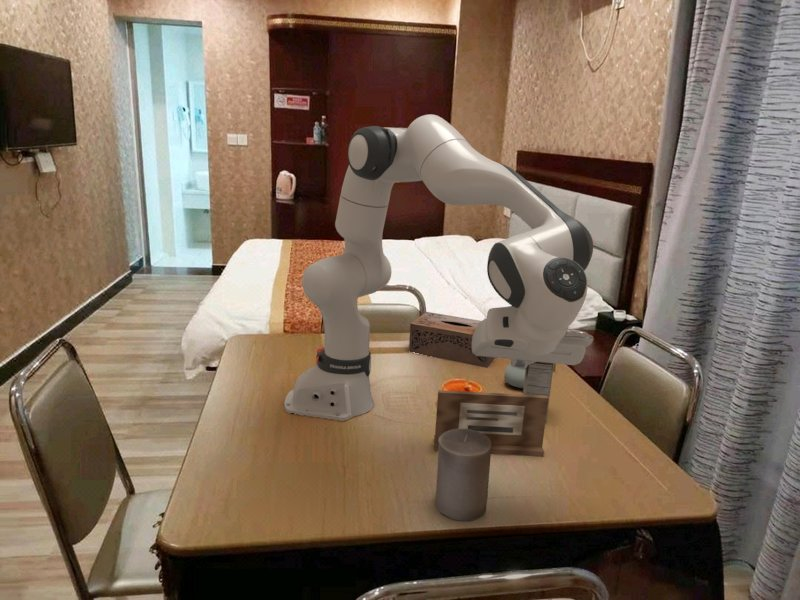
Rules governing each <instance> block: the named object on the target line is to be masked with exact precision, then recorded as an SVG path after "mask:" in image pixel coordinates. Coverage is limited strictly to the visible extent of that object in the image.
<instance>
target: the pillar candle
mask: <svg viewBox="0 0 800 600" xmlns="http://www.w3.org/2000/svg"><path fill="white" fill-rule="evenodd" d="M438 441H439V451H437V452H438V454H437V469H436V472H437V473H436V485H435V488H436V489H435V501H434V502H435V507H436V509H437V511H438V512H439V513H441V514H442V515H444V516H446V517H448V518H449V519H452V520H453V521H454V520H455V521H458V522H459V521H460V522H468V521H473V520H477V519H480V517H482V516H483V515H484V514H485V512H487V505H488V495H489V494H488V493H489V481H490V468H491V456H492V454H491V441H490V440H489V438H488V437H487V436H486V435H484V434H482V433H480V432H478V431H474V430H471V429H452V430H449V431H446V432H445V433H443V434H442V435H441V436H440V437H439V440H438Z"/></svg>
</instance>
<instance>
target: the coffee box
mask: <svg viewBox="0 0 800 600" xmlns="http://www.w3.org/2000/svg"><path fill="white" fill-rule="evenodd" d="M553 367H554V363H546V362H535V363H532V364H529V365H528V366H527V368H526V370H525V379H524V388H522V394H524V395H543V396H548V406H547V414H546V421H545V424H547V420H548V419H547V418H548V411H549V405H550V395H551V389H552V380H553V375H554V374H553V373H554V372H553Z"/></svg>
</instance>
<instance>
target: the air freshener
mask: <svg viewBox="0 0 800 600" xmlns="http://www.w3.org/2000/svg"><path fill="white" fill-rule="evenodd" d="M525 370H526V368H523V367H513V366H511V362H510V363H509V364H508V365H507V366H506V368H505V371H504V377H503V379H504V380H505V382H506V383H507V384H508V385H511V386H512V387H515V388H518V389H523V388H524V379H525Z"/></svg>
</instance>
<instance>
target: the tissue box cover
mask: <svg viewBox="0 0 800 600" xmlns="http://www.w3.org/2000/svg"><path fill="white" fill-rule="evenodd" d="M481 321H482V320H477V319H470V318H466V317H461V316H460V317H459V316H454V315H450V314H443V313H435V312H430V311H425V312H424V313H423V314H421V315H420V316H418V318H417V317H416V319H414V320H413V321H412V322H410V323H409V324H410V325H409V327H410V328H409V342H408V343H409V345H408V352H409V351H410V352H415V353H419V354H423V355H422V356H424V355H427V356H426V357H430V356H432V357H431V358H435V357H436V359H441V360H445V361H450V362H451V361H452V362H456V363H461V364H466V365H471V366H474V367H475V366H477V367H481V368H486V369H488V368H489V367H490V365H491V364H492V362H494V360H495V357H485V356H476V355H474V354H473V353H472V336H473V334H474V332H475V330H476V328H477V326H478V325H479V323H480V322H481ZM419 354H418V355H419Z"/></svg>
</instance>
